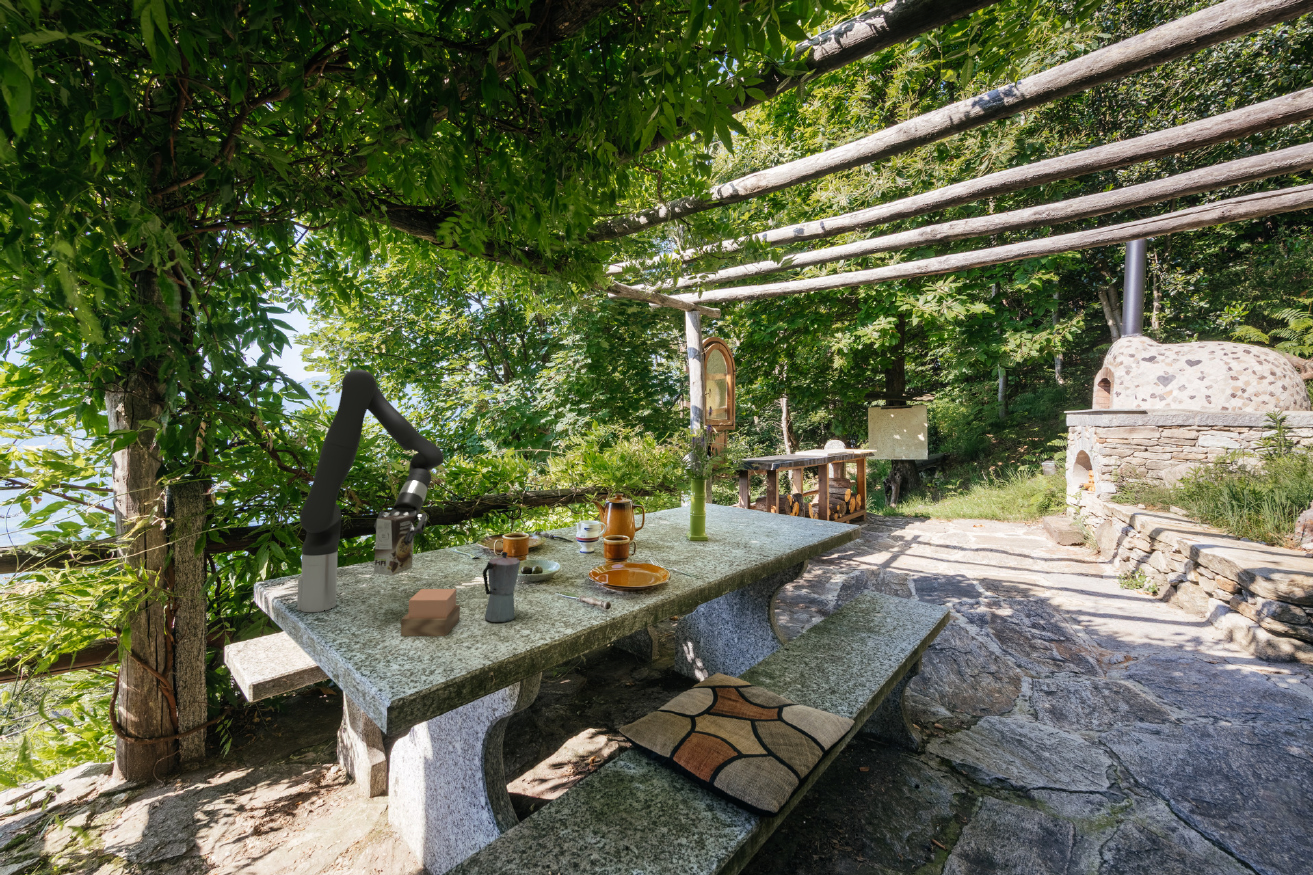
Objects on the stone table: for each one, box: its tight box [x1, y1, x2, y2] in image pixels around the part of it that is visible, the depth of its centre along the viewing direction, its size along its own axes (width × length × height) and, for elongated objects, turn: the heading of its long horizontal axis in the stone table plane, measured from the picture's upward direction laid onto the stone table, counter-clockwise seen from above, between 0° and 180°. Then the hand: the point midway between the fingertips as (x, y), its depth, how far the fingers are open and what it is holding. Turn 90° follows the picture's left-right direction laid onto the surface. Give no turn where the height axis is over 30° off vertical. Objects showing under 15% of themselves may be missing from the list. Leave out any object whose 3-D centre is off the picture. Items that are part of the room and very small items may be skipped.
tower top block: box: [407, 588, 457, 618], centre depth 148 cm, size 10×10×5 cm
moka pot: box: [482, 551, 521, 623], centre depth 157 cm, size 10×15×20 cm, turn 161°
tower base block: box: [400, 604, 461, 637], centre depth 148 cm, size 12×12×5 cm
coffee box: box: [373, 515, 415, 577], centre depth 154 cm, size 9×6×16 cm
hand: (392, 543), depth 152 cm, fingers closed on coffee box, 7 cm apart
